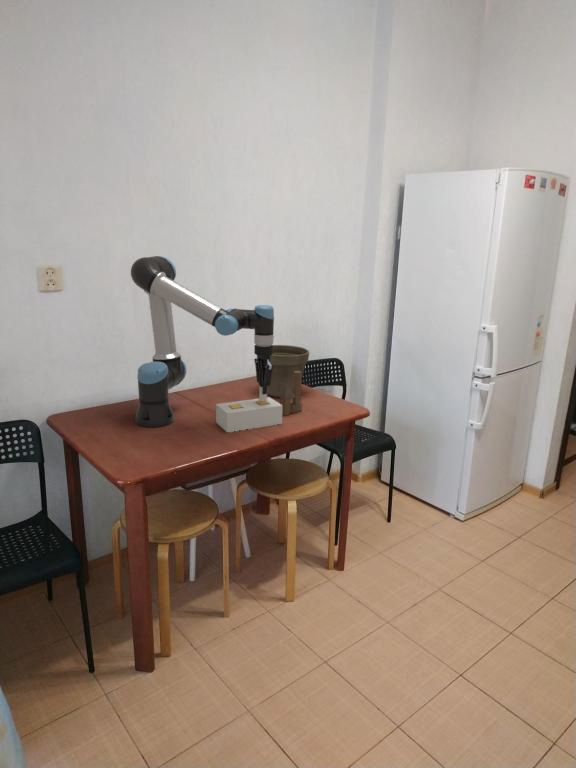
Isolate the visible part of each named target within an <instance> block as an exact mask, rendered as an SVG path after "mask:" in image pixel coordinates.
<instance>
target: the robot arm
mask: <svg viewBox="0 0 576 768" xmlns="http://www.w3.org/2000/svg"><path fill="white" fill-rule="evenodd" d="M175 266H176V265H175V264H174V263H173V261H171V260H170V259H169V258H167V257H165V256H159V255H155V256H149V257H148V256H147V257H146V256H145V257H140V258H138V259H137V260H135V261H134V262H133V264H132V265H131V268H130V277H131V279H132V282H133V283H134V284H135V285H136V286H137V287H139V289H142V290H143V292H144V293H145V294H147V295H148V300H149V309H150V317H151V318H150V319H151V327H152V333H153V335H152V336H153V342H154V343H153V344H154V349H155V352H154V353H155V354H153V356H152V361H150V362H146V363H143V364H141V365H140V366H139V367H138V369H137V377H136V378H137V386H138V387H137V388H138V389H137V390H138V406H137V409H136V413H135V417H134V418H135V424H136V425H138V426H141V427H146V428H158V427H165V426H168V425H170V424H172V423H173V422H174V420H175V419H174V417H175V415H174V412H173V410H172V407H171V405H170V400H169V399H170V398H169V396H170V395H169V391H170V390H171V389H172V388H174V387H177V386H178V385H180V384H181V382H183V380H185V378H186V375H187V366H186V364H185V362H184V361H183V360H182V357H181V353H180V352H178V351H177V343H176V337H175V326H174V319H173V317H174V316H173V310H172V307H173V306H172V304H173V305H175V306H177V307H179V308H180V309H182V310H183V311H186V313H189V314H191V315H193V316H194V317H196V318H198V319H199V320H201V321H204V323H207V324H209V325H210V326H212V327H214V328H215V330H216V332H217V333H218V334H219V335H221V336H223V337H224V336H231V335H233V334H236V332H237V331H240V330H242V329H243V330H244V329H245V330H246V329H248V330H254V335H253V336H254V337H253V338H254V348H253V349H254V352H253V353H254V355H256V358H254V359H253V360H254V365H255V376H256V383H258V385H259V392H258V393H259V398H258V399H259V401H260V402H265V401H267V397H268V394H267V386H270V382H271V375H272V369H273V364H272V365H271V364H270V356H271V355H272V354H273V345H274V338H275V335H274V328H275V327H274V325H275V316H274V315H275V310H274V307H273V306H272V305H268V304H258V305H255V307H254V309H242V308H227V309H224V308H222V307H221V306H219V305H217V304H215V303H213V302H211V301H210V300H208V299H206V298H205V297H203V296H202V295H200V294H197V293H195V292H194V291H193V290H190V289H188V288H187V287H185V286H183V285H182V284H180V283H178V282H176V281H175V279H176V276H177V270H176V267H175ZM257 355H258V356H257Z"/></svg>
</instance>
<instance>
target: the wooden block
mask: <svg viewBox="0 0 576 768" xmlns="http://www.w3.org/2000/svg"><path fill="white" fill-rule="evenodd" d="M301 376H303V375H302V372H301V371H294V372H293V392H292V391H291V390H290V389H289V388H288V387H287V385H286V384H283V383H280V394H279V397H278V398H279V400H278V401H279V402H278V403H279V404H281V405H283V407H282V417H283V416H284V417H286V416H290V415H291V414H295V413H299V412H302V410H303V403H302V402H301V401H302V400H301V398H302V397H301V396H302V378H301Z"/></svg>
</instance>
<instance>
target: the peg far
mask: <svg viewBox="0 0 576 768" xmlns="http://www.w3.org/2000/svg"><path fill="white" fill-rule="evenodd" d="M256 403H257V404H258V405H268V404H269V402H268V401H265V402H260V401H256Z"/></svg>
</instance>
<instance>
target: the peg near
mask: <svg viewBox="0 0 576 768" xmlns="http://www.w3.org/2000/svg"><path fill="white" fill-rule="evenodd" d="M229 407H230V408H231V409H239V408H242V406H240V405H239V404H236V405H229Z"/></svg>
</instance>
